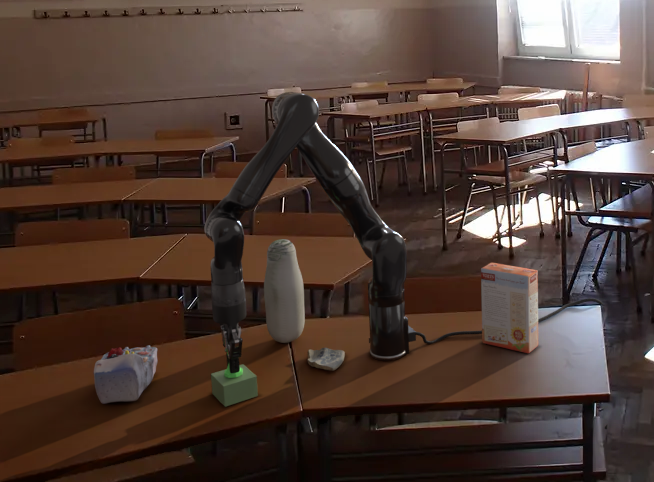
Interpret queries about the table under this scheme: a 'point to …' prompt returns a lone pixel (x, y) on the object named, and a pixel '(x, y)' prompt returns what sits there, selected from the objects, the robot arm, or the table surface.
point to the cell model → (124, 373)
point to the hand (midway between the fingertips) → (233, 369)
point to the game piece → (232, 375)
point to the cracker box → (509, 307)
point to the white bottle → (283, 292)
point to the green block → (234, 386)
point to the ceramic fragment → (325, 358)
